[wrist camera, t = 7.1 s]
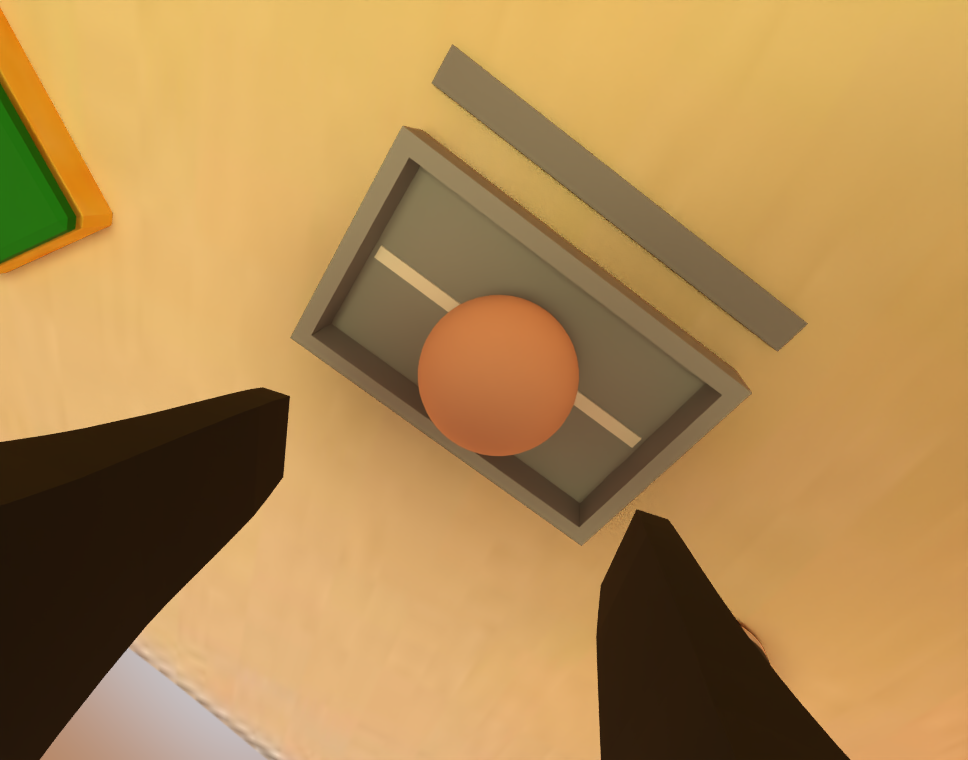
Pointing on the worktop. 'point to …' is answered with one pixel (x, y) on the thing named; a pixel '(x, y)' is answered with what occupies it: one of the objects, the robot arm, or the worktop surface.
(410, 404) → the tray
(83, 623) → the robot arm
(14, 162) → the dish sponge
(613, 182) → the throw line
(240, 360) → the worktop surface
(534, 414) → the ball
